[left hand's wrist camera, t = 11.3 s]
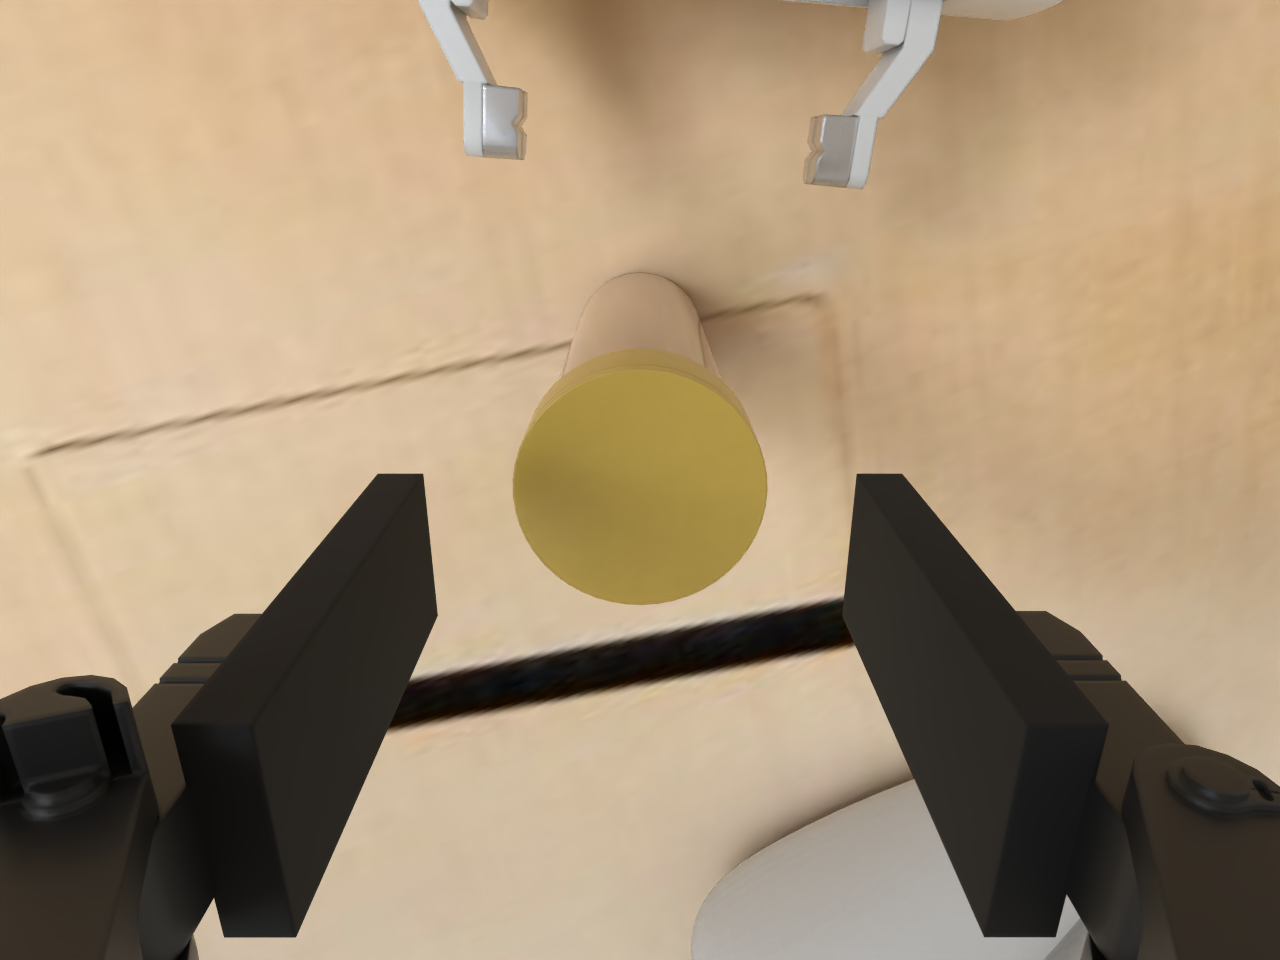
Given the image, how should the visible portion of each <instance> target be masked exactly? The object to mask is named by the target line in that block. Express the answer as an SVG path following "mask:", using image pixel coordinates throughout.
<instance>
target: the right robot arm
mask: <svg viewBox="0 0 1280 960" xmlns="http://www.w3.org/2000/svg"><path fill="white" fill-rule="evenodd" d="M780 1H792V2H803V3H814V4H825V5H836V6H847V7H858V8H868V9H867V16H866V23H865V30H864V37H863V44H862V50H863V51H864V53H867V54H876V55H877V54H880V53H882V57H881V58H880V60H879V61H878V63H877V64H876V65H875V67H874V68H873V70H872V71H871V73H870V74H869V75H868V77H867V78H866V80H865V81H864V83H863V84H862V86H861V87H860V88H859V90H858V91H857V93H856V94H855V96H854V97H853V99H852V100H851V101H850V103H849V104H848V106H847V107H846V109H845V110H844V112H843V113H842V114H841V116H838V115H820V116H815V117H811V121H810V128H809V135H808V144H809V147H810V149H811V151H812V152H811V153H810V154H809V155H808V156H807V158H806V159H805V163H804V173H803V181H804V183H805V184H811V185H821V186H832V187H842V188H855V189H863V188H864V186H865V184H866V181H867V178H868V175H869V169H870V164H871V158H872V152H873V146H874V140H875V134H876V128H877V122H878V119H882V118H884V116H885V115H886V114H887V112H888V111H889V110H890V108H891V107H892V105H893V104H894V103H895V101H896V100H897V99H898V97H899V96H900V95H901V93H902V92H903V91H904V89H905V88H906V87H907V85H908V84H909V83H910V81H911V80H912V79H913V77H914V76H915V75H916V73H917V72H918V71H919V69H920V68H921V67H922V65H923V64H924V63H925V61H926V60H927V59H928V57H929V56H930V54H931V53H932V52H933V50H934V48H935V42H936V37H937V32H938V27H939V21H940V16H941V15H946V16H957V17H969V18H980V19H991V20H1003V21H1008V20H1015V19H1020V18H1023V17H1026V16H1029V15H1032V14H1035V13H1038V12H1040V11H1043V10H1045V9H1048V8H1050V7H1052V6H1055V5H1057V4H1058V3H1060V2H1062V1H1063V0H780ZM419 5H420V7H421V9H422V10H423V12H424V14H425V16H426V18H427V20H428V22H429V24H430V26H431V28H432V30H433V32H434V34H435V36H436V38H437V40H438V42H439V44H440V46H441V48H442V50H443V52H444V54H445V56H446V58H447V60H448V62H449V64H450V66H451V68H452V70H453V71H454V73H455V75H456V77H457V79H458V81H459V82H461V83H463V143H464V148H465V154H466V156H474V157H485V158H499V159H514V160H524V159H525V154H526V137H527V135H526V134H525V132H524V130H523V129H522V127H521V126H522V125H523V123H524V122H525V120H526V119H527V92H525V91H522V89H520V88H514V87H504V86H498V85H497V83H496V81H495V79H494V77H493V75H492V73H491V71H490V68H489V66H488V64H487V62H486V60H485V58H484V56H483V54H482V51H481V49H480V47H479V45H478V43H477V41H476V39H475V37H474V34H473V32H472V30H471V28H470V26H469V24H468V22H467V20H466V18H467V15H468V16H469V17H470V18H473V19H485V18H486V17H487V16H488V0H419Z"/></svg>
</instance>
